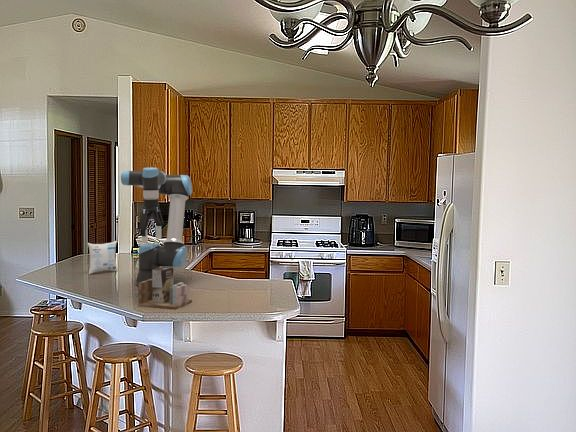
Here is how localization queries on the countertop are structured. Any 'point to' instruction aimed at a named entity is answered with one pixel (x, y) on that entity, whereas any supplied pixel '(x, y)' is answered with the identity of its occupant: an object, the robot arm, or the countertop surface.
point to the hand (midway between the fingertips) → (151, 240)
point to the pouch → (102, 257)
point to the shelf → (176, 301)
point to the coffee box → (161, 284)
